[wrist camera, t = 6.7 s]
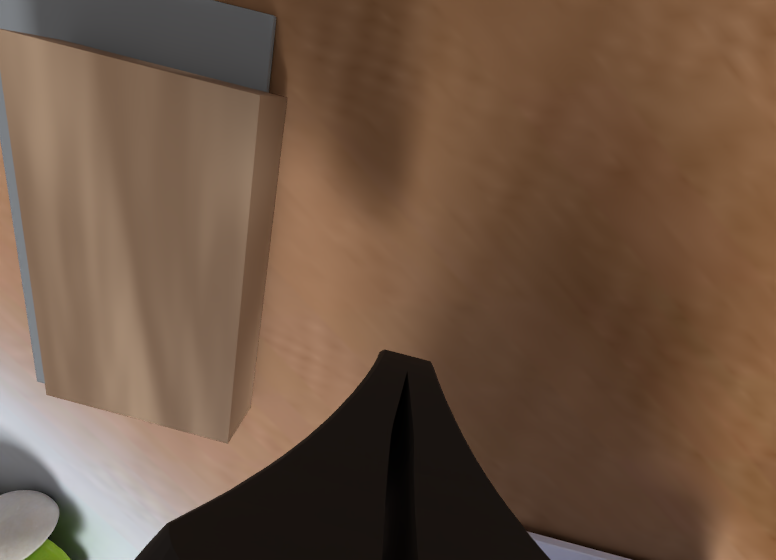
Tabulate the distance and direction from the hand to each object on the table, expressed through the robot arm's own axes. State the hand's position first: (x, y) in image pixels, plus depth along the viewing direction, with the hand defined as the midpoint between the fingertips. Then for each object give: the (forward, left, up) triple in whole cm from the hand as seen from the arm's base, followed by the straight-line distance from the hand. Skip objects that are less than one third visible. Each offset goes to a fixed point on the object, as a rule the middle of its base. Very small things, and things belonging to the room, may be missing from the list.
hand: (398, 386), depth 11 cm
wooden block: (+5, 0, -3) cm, 6 cm away
